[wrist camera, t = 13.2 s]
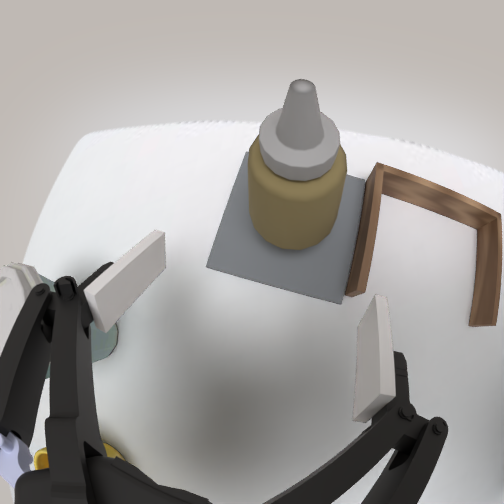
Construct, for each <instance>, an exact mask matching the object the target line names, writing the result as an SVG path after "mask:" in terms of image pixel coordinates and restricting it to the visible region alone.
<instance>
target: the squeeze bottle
mask: <svg viewBox="0 0 504 504" xmlns="http://www.w3.org/2000/svg"><path fill="white" fill-rule="evenodd" d="M346 174H347V162H346V154H345V152H344V150H343V148H342V147H341V145H340V136H339V131H338V129H337V127H336V126H335V124H334V123H333V121H332V120H331V119H330V118H328V117H327V116H326V115H324V114H323V113H322V112H320V109H319V104H318V98H317V94H316V89H315V85H314V84H313V83H312V82H310V81H308V80H304V79H299V80H295V81H293V82H292V83H291V84H290V87H289V90H288V93H287V96H286V99H285V102H284V105H283V108H281V109H278V110H277V111H275V112H273V113H271V114H270V115H268V116H267V117H266V119H265V120H264V121H263V123H262V124H261V126H260V131H259V135H258V136H257V138H256V139H255V141H254V142H253V144H252V145H251V147H250V148H249V156H248V194H249V214H250V217H251V220H252V223H253V226H254V228H255V229H256V230H257V232H258V233H259V234H260V235H261V236H262V237H263V238H264V239H265V241H267V242H269V243H271V244H273V245H275V246H277V247H280V248H282V249H293V250H302V249H305V248H308V247H311V246H314V245H317V244H318V243H320V242H321V241H322V240H323V239H324V238H325V237H326V236H327V235H329V234H330V232H331V230H332V228H333V226H334V223H335V221H336V219H337V215H338V211H339V206H340V202H341V197H342V193H343V188H344V183H345V179H346Z"/></svg>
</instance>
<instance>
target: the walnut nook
mask: <svg viewBox="0 0 504 504" xmlns="http://www.w3.org/2000/svg"><path fill="white" fill-rule="evenodd" d="M381 194H384V195H388V196H391V197H394V198H397V199H400V200H403V201H405V202H408V203H411V204H414V205H417V206H420V207H422V208H425V209H428V210H430V211H433V212H436V213H438V214H441V215H444V216H446V217H449V218H451V219H454V220H456V221H458V222H461V223H463V224H466V225H468V226H470V227H473V228H475V229H477V261H476V275H475V286H474V295H473V302H472V309H471V315H470V321H469V326H472V327H479V326H496V322H497V315H498V308H499V299H500V289H501V274H502V222H501V214H500V213H498V212H496V211H494V210H493V209H491V208H489V207H487V206H485V205H483V204H481V203H479V202H476V201H474V200H472V199H470V198H468V197H466V196H464V195H462V194H459V193H457V192H455V191H453V190H450V189H448V188H446V187H443V186H441V185H438V184H436V183H433V182H431V181H428V180H426V179H423V178H421V177H418V176H415V175H413V174H410V173H407V172H404V171H402V170H399V169H396V168H393V167H390V166H387V165H384V164H381V163H378V162H377V163H376V165H375V166H374V168H373V170H372V172H371V174H370V176H369V177H368V179H367V181H366V184H365V191H364V198H363V205H362V211H361V217H360V223H359V229H358V235H357V240H356V245H355V250H354V255H353V260H352V265H351V270H350V274H349V279H348V283H347V287H346V291H345V295H346V296H350V297H354V296H357V295H359V294H362V293H365V290H366V286H367V281H368V276H369V271H370V266H371V261H372V256H373V250H374V244H375V238H376V231H377V225H378V218H379V210H380V202H381Z"/></svg>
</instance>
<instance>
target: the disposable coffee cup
mask: <svg viewBox="0 0 504 504" xmlns="http://www.w3.org/2000/svg"><path fill="white" fill-rule="evenodd" d="M40 283H45V284H48V285H49V287H50V290H51V291H52V292H56V291H55V289H54V286H53V285H54V283H55V282H53V281H51V280H49V279H47V278H45V277H44V276H42V275H40V274H38V273H37V271H36V269H35V268H34V267H33V266H29V265H25V264H21V263H13V262H11V263H10V264H8V265H7V266H5V265H4V266H3V267H2V268H1V269H0V356H1V353H2V351H3V348H4V346H5V343H6V341H7V339H8V336H9V334H10V332H11V329H12V327H13V325H14V323H15V321H16V319H17V317H18V315H19V313H20V311H21V309H22V307H23V305H24V303H25V301H26V299H27V297H28V295H29V293H30V291H31V290H32V288H33V287H34V286H36V285H37V284H40ZM90 326H91V351H92V363H93V362H96V361H98V360H101V359H104V358H106V357H108V355H110V353H111V352H112V350H113V349H114V347H115V346H116V342H117V334H118V330H117V327H116V324H114V325H113V326H112V327H111V328H110V330H109V331H108V332H107V333H105V332H103V331H101V330H99V329H98V328H96V326H95V323H94V320H93V322H92V323H91V324H90ZM47 378H50V364H49V367H48V371H47V374H46V378H45V379H47Z"/></svg>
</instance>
